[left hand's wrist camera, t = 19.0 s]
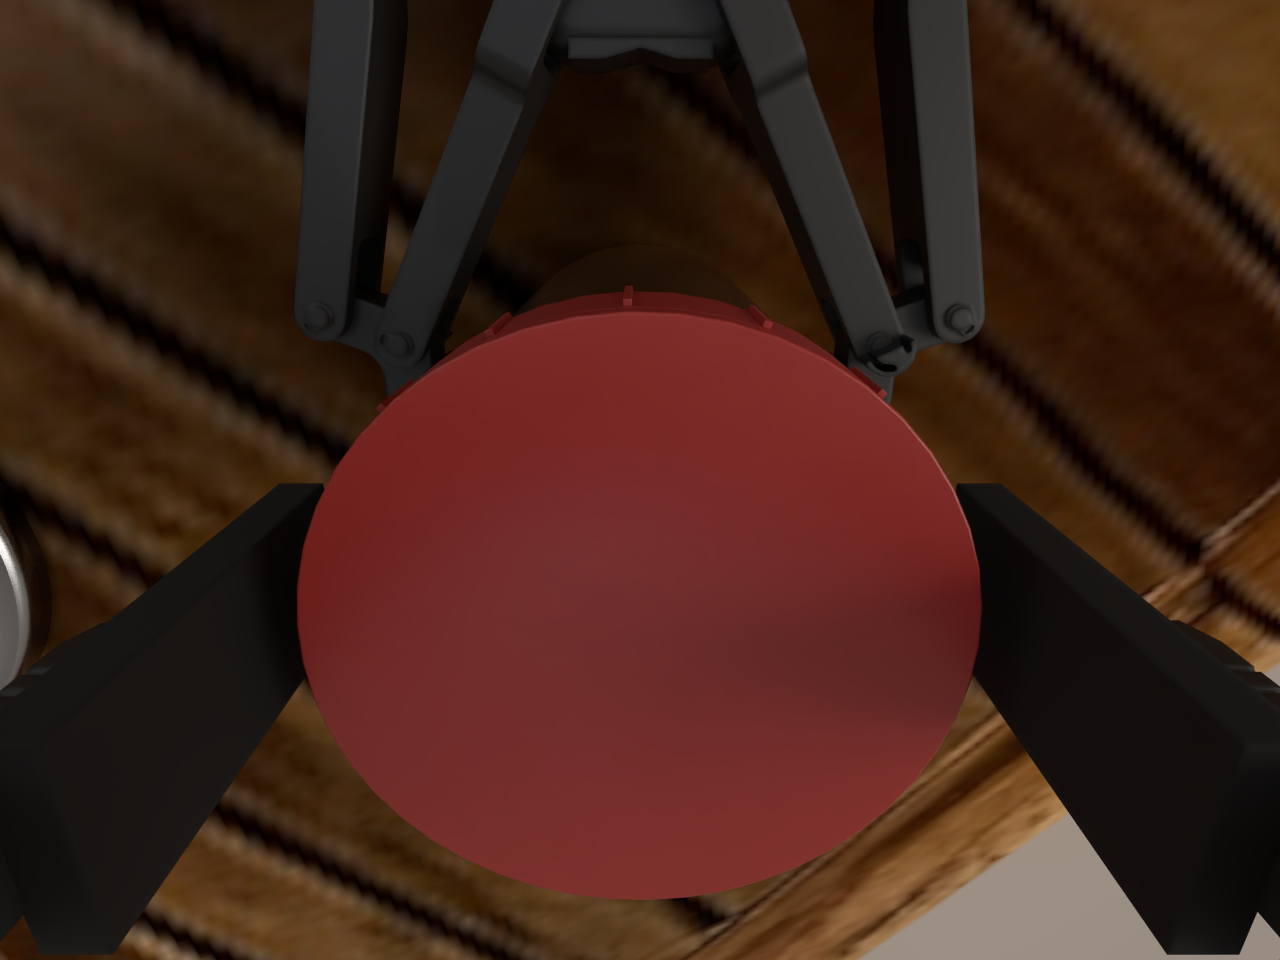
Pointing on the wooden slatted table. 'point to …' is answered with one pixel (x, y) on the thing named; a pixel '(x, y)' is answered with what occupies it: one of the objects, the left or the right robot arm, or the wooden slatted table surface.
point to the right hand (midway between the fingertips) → (639, 583)
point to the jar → (638, 277)
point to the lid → (639, 599)
